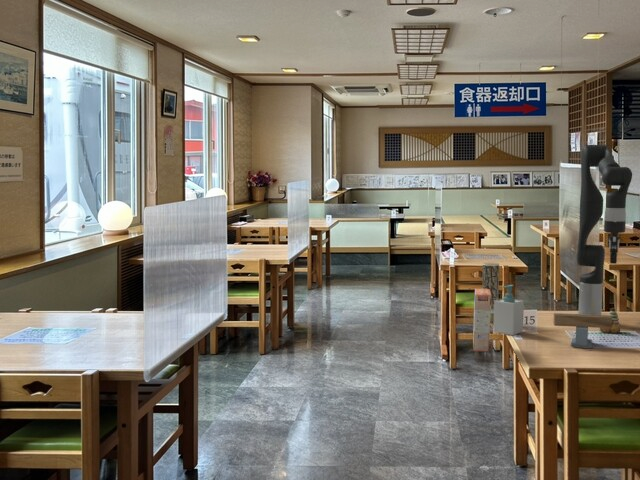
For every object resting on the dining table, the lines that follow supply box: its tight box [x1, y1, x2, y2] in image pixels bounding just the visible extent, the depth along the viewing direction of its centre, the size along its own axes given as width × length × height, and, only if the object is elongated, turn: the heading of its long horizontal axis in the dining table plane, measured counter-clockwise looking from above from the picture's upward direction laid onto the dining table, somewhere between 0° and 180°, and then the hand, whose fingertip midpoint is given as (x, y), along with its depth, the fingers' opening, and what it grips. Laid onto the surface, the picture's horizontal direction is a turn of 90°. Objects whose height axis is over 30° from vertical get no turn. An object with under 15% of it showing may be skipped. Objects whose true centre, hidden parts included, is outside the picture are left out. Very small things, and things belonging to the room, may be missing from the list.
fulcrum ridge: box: [570, 327, 593, 349], centre depth 266 cm, size 10×7×7 cm
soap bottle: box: [493, 284, 525, 336], centre depth 285 cm, size 9×9×19 cm
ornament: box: [599, 307, 621, 334], centre depth 286 cm, size 8×6×10 cm
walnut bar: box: [553, 312, 612, 329], centre depth 265 cm, size 4×20×4 cm, turn 78°
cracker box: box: [472, 288, 491, 353], centre depth 260 cm, size 14×6×21 cm, turn 168°
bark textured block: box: [481, 262, 500, 323], centre depth 305 cm, size 7×7×25 cm
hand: (613, 261), depth 272 cm, fingers open, 8 cm apart
